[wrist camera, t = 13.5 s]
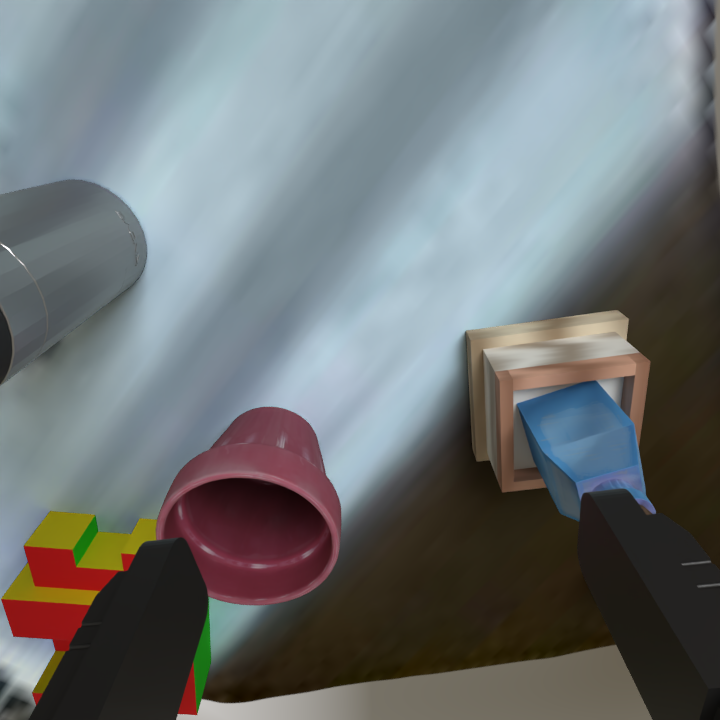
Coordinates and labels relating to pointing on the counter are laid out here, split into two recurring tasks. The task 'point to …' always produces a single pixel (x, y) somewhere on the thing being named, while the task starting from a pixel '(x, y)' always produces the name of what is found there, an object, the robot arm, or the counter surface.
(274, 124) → the counter surface
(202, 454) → the plant pot
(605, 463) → the perfume bottle
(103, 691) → the robot arm
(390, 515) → the counter surface
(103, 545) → the building blocks toy
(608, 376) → the pedestal
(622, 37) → the counter surface
